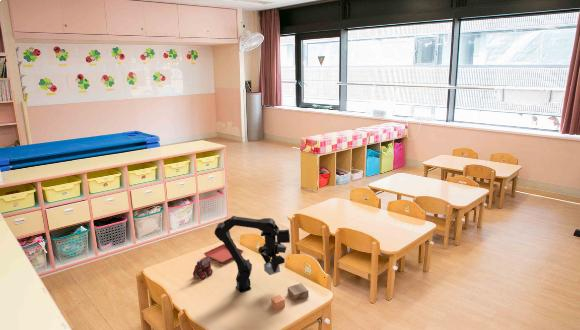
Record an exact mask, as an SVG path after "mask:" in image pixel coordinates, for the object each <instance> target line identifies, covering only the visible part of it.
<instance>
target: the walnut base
mask: <svg viewBox="0 0 580 330" xmlns="http://www.w3.org/2000/svg"><path fill="white" fill-rule="evenodd" d="M287 294H288V295H289V297H290V298H291V299H292V300H293V302H298V301H300V300H304V299H306V298H307V299H308V298H309V290H308V289H307V287H305V286H304V284H303V283H297V284H294V285H291V286H287Z"/></svg>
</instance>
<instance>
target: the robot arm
mask: <svg viewBox="0 0 580 330" xmlns="http://www.w3.org/2000/svg"><path fill="white" fill-rule="evenodd" d="M235 226H236V227H242V228H251V229H257V230H260V231H261V233H260V237H264V243H263V245H262V246H259V248H257V249H258V251H257V252H258V254H260V256H261V257H262V259H263V261H264V262H265V263H268V262H270V264H271V267H272V269H273V271H274V272H276V270H277V267H278V265H279V266H280V265H282V264H285V261H286V260H285V258H284V256H282V255H280V253H281V254H285V253H286V250H287V246H285V245H284V244H285V243H286V244H290V243H291V233H290V229H280V227H278V224H276V221H275V220H274V219H273V218H271V217H269V218H268V217H266V218H264V217H263V218H260V219H257V218H250V217H244V216H243V217H242V216H236V215H232V216H231V217H230V218H228V219H225V220H224V221H223V222H219V223H217V225H216V227H215V229H214V235H215V237H216V238H217V239H218V240H219V241H220V242H222V243H223V244H225V246H226V247H227V249H228V251H229V252H230V254H231V256H232V257H233V259H232V260H234V262H235V264H236V266H237V267H236V268H237V274H236V277H235V281H236V282H235V283H236V286H235V288H236V290H237V291H238V292H239V293H244V292H246V291H250V290H252V287H251V278H250V276H251V275H252V271H253V264H252V263H251V262H250V259H246V258H244V256H243V255H242V254H241V253H240V252H239V250H238V249H239V248H238V247H237V246H236V244H235V241H234V240H233V238H232V237H231V232H230V231H231V229H232V228H233V227H235Z"/></svg>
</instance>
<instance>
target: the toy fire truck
mask: <svg viewBox="0 0 580 330" xmlns="http://www.w3.org/2000/svg"><path fill="white" fill-rule="evenodd" d="M211 260H212V259H211V257H210V256H205V257H204V258H202V259H200V260H198V261H196V264H195V265H194V269H193V272H192V275H193V278H194V279H198V278H199V279H200V280H202V281H203V280H205V279H206V277H207V276H209V277H210V276H212V274H213V273H214V271H213V269H212V266H211Z"/></svg>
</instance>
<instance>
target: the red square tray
mask: <svg viewBox="0 0 580 330" xmlns="http://www.w3.org/2000/svg"><path fill="white" fill-rule="evenodd" d="M238 250H239V252H240V253H241V255H242V254H243V253H244V250H243V249H240V248H238ZM203 255H204V256H205V257H207V256H210V257H211V260H212V261H215V262H217V263H219V264H221V265H224V264H226V263H228V262H230V261H232V260H234V259H233V257H232V256H231V254H230V252H229V251H228V249H227V247H226V246H225V244H224V243H223V244H220V245H219V246H217V247H214V248H212V249H210V250H208V251H205V252H204V253H203Z"/></svg>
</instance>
